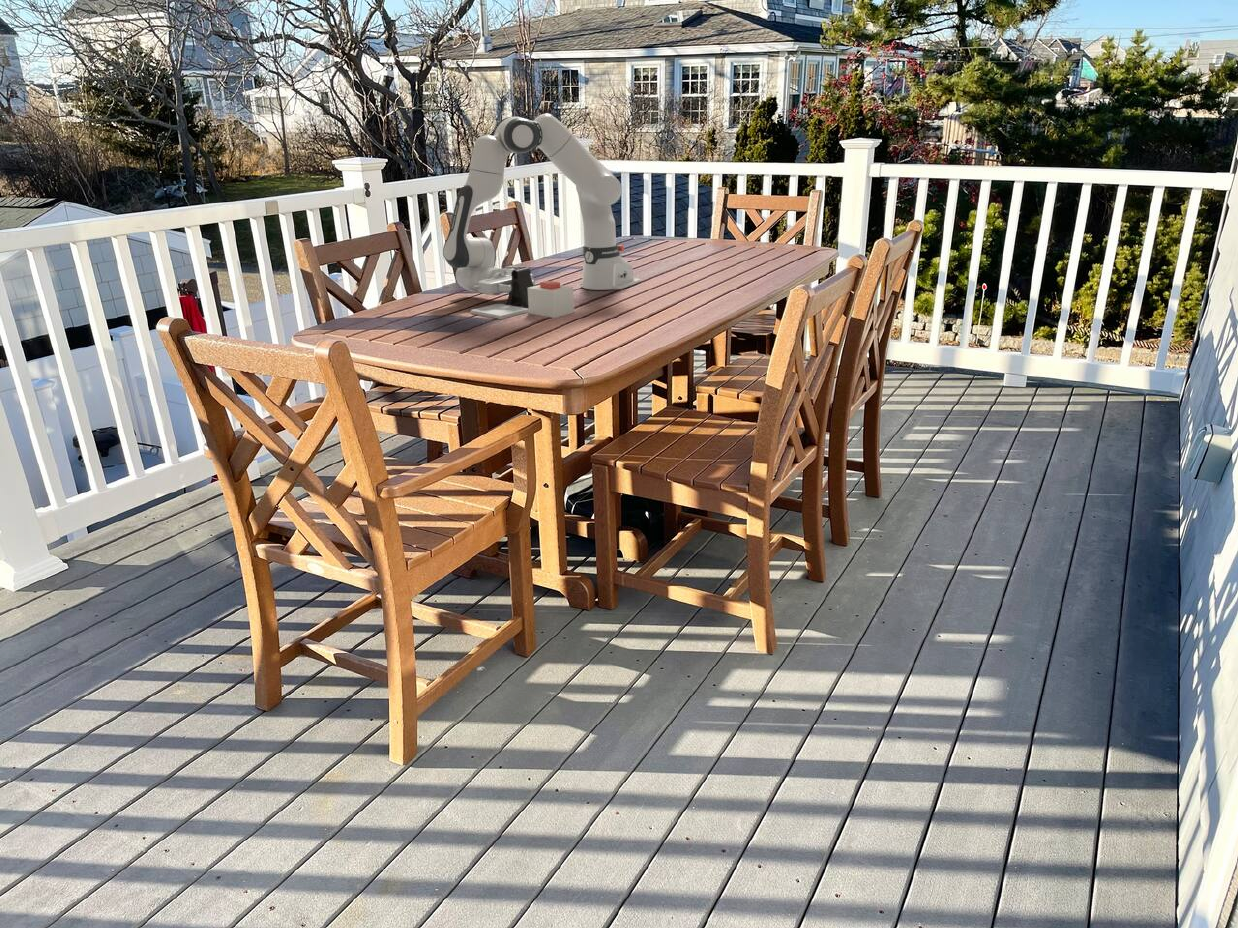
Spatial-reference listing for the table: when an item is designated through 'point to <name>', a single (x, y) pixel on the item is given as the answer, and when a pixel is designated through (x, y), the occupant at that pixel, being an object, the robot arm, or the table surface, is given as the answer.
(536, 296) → the box
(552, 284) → the button
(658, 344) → the table surface
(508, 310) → the grey mat
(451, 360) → the table surface
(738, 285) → the table surface
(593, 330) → the table surface
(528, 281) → the phone stand
